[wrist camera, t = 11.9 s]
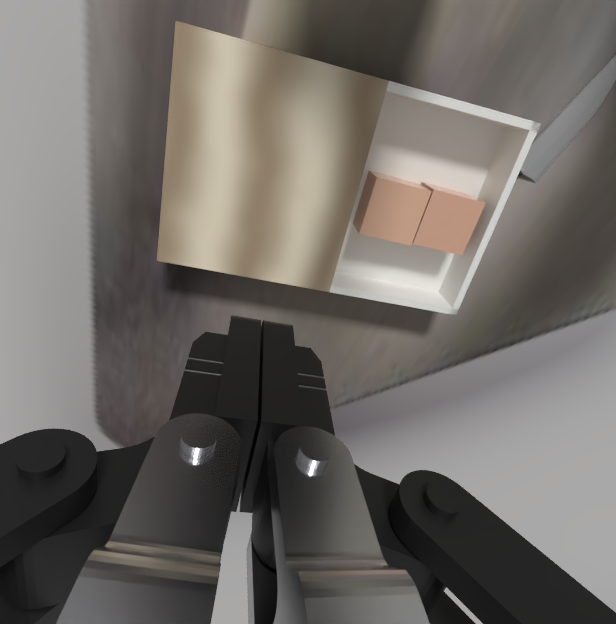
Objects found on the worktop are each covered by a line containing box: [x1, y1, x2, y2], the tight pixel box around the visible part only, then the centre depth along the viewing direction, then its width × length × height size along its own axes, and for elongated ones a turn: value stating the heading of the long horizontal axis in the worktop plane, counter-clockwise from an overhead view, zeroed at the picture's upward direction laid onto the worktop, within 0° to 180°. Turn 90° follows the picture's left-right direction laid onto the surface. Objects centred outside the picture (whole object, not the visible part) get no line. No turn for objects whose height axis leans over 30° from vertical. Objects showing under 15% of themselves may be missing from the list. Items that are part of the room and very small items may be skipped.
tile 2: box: [412, 182, 486, 255], centre depth 35 cm, size 4×4×3 cm
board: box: [157, 21, 389, 292], centre depth 32 cm, size 14×16×4 cm
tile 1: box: [353, 171, 432, 246], centre depth 34 cm, size 4×4×3 cm
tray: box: [329, 81, 541, 315], centre depth 35 cm, size 12×16×4 cm
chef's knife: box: [518, 55, 616, 183], centre depth 35 cm, size 19×1×3 cm
